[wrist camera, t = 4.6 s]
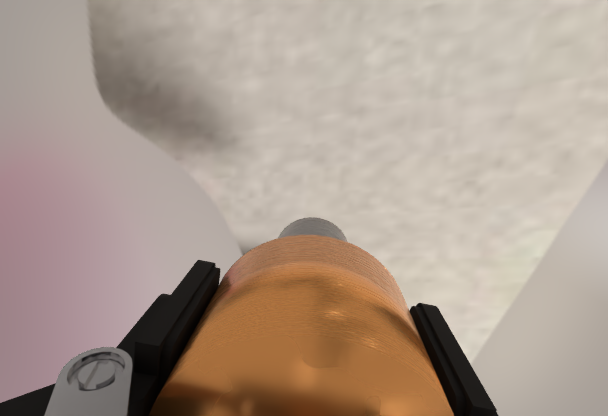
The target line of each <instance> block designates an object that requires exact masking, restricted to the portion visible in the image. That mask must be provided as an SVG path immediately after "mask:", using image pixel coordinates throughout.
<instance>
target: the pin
mask: <svg viewBox="0 0 608 416" xmlns="http://www.w3.org/2000/svg"><path fill="white" fill-rule="evenodd" d="M149 416H454V414H453V412H452V409H451V407H450V405H449V402H448V400H447V398H446V395H445V393H444V391H443V388H442V386H441V384H440V381H439V379H438V377H437V374H436V372H435V370H434V367H433V365H432V363H431V360H430V358H429V356H428V353H427V351H426V349H425V346H424V344H423V342H422V339H421V337H420V335H419V332H418V330H417V328H416V325H415V323H414V321H413V318H412V316H411V314H410V311H409V309H408V307H407V304H406V302H405V300H404V297H403V295H402V293H401V290H400V288H399V286H398V285H397V283H396V281H395V279H394V278H393V276H392V275H391V274H390V273H389V271H388V270H387V269H386V268H385V267H384V266H383V265H382V264H381V263H380V262H379V261H378V260H377V259H376V258H374V257H373V256H372V255H370V254H369V253H368V252H366V251H364V250H362V249H361V248H359V247H357V246H355V245H353V244H350V243H348V242H347V240H346V237H345V236H344V234H343V233H342V231H341V230H340V229H339V228H338V227H337V226H335V225H334V224H333V223H331V222H329V221H327V220H324V219H320V218H303V219H300V220H297V221H295V222H293V223H291V224H290V225H288V226H287V227H286V228H285V229H284V230H283V231H282V232H281V234H280V236H279V237H278V239H274V240H272V241H269V242H266V243H264V244H261V245H259V246H258V247H256V248H254V249H252V250H250V251H249V252H247V253H246V254H245V255H243V256H242V257H241V258H240V259H239V260H238V261H236V263H234V264H233V265H232V266H231V268H230V269H229V270H228V272H227V273H226V274H225V276H224V277H223V279H222V281H221V283H220V285H219V286H218V288H217V290H216V292H215V294H214V295H213V297H212V299H211V301H210V303H209V304H208V306H207V308H206V310H205V312H204V314H203V315H202V317H201V319H200V321H199V323H198V325H197V326H196V328H195V330H194V332H193V334H192V335H191V337H190V339H189V341H188V343H187V345H186V346H185V348H184V350H183V352H182V354H181V355H180V357H179V359H178V361H177V363H176V365H175V366H174V368H173V370H172V372H171V374H170V376H169V377H168V379H167V381H166V383H165V385H164V386H163V388H162V390H161V392H160V394H159V396H158V397H157V399H156V401H155V403H154V405H153V406H152V408H151V411H150V414H149Z"/></svg>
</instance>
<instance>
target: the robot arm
mask: <svg viewBox="0 0 608 416" xmlns="http://www.w3.org/2000/svg"><path fill="white" fill-rule="evenodd" d="M219 278H220V268H215V263H212V262H207V261H202V260H198V261H197V262H196V263H195V264H194V266H193V267H192V268H191V270H190V271H189V272H188V273H187V275H186V276H185V277H184V279H183V280H182V281H181V283H180V284H179V285H178V286H177V288H176V289H175V290H174V292H173V293H172V294H171V295H168V294H161V295H160V296H159V297H158V298H157V299H156V300H155V302H154V303H153V304H152V305H151V306H150V308H149V309H148V310H147V311H146V312H145V314H144V315H143V316H142V317H141V318H140V320H139V321H138V322H137V323H136V324H135V326H134V327H133V328H132V329H131V330H130V332H129V333H128V334H127V335H126V337H125V338H124V339H123V340H122V342H121V343H120V344H119V345H118V346H117V347H116V348H114V347H101V348H96V349H91V350H89V351H86V352H84V353H81V354H79V355H78V356H76V357H74V358H73V359H71V360H70V361H69V362H68V363H67V364H66V365H65V366H64V367H63V369H62V370H61V372H60V374H59V376H58V379H57V382H56V383H55V384H53V385H50V386H47V387H44V388H42V389H39V390H36V391H33V392H30V393H27V394H24V395H22V396H19V397H16V398H13V399H11V400H8V401H5V402H2V403H0V416H149V414H150V411H151V408H152V406H153V405H154V403H155V401H156V399H157V397H158V396H159V394H160V392H161V390H162V388H163V386H164V385H165V383H166V381H167V379H168V377H169V376H170V374H171V372H172V370H173V368H174V366H175V365H176V363H177V361H178V359H179V357H180V355H181V354H182V352H183V350H184V348H185V346H186V345H187V343H188V341H189V339H190V337H191V335H192V334H193V332H194V330H195V328H196V326H197V325H198V323H199V321H200V319H201V317H202V315H203V314H204V312H205V310H206V308H207V306H208V304H209V303H210V301H211V299H212V297H213V295H214V294H215V292H216V290H217V288H218V286H219ZM410 314H411V316H412V318H413V321H414V323H415V325H416V328H417V330H418V332H419V335H420V337H421V339H422V342H423V344H424V346H425V349H426V351H427V353H428V356H429V358H430V360H431V363H432V365H433V367H434V370H435V372H436V374H437V377H438V379H439V381H440V384H441V386H442V388H443V391H444V393H445V395H446V398H447V400H448V402H449V405H450V407H451V409H452V412H453V414H454V416H498V414H497V412H496V408H495V406H494V405H493V403H492V401H491V400H490V398H489V396H488V394H487V393H486V391H485V389H484V387H483V386H482V384H481V382H480V380H479V379H478V377H477V375H476V374H475V372H474V370H473V368H472V367H471V365H470V363H469V361H468V360H467V358H466V356H465V354H464V353H463V351H462V349H461V347H460V346H459V344H458V342H457V340H456V339H455V337H454V335H453V334H452V332H451V330H450V328H449V327H448V325H447V323H446V321H445V320H444V318H443V316H442V314H441V313H440V311H439V309H438V308H437V307H436V306H433V305H428V304H422V303H418V304H417V305H416V306H412V307H411V309H410Z"/></svg>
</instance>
